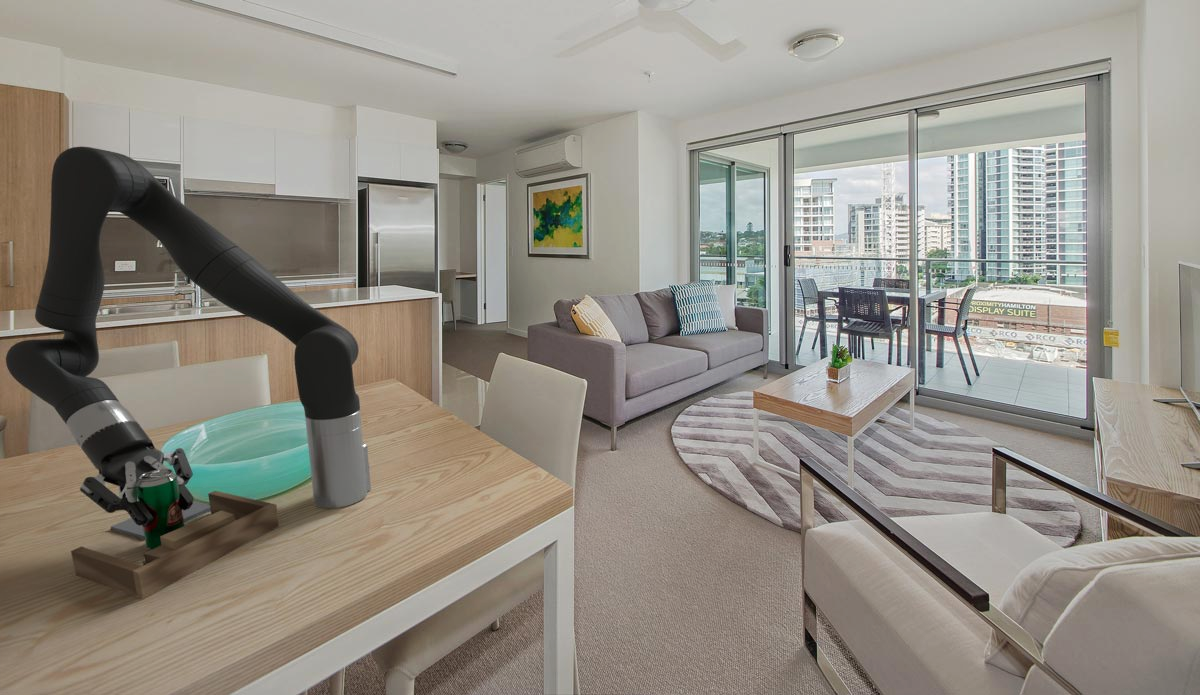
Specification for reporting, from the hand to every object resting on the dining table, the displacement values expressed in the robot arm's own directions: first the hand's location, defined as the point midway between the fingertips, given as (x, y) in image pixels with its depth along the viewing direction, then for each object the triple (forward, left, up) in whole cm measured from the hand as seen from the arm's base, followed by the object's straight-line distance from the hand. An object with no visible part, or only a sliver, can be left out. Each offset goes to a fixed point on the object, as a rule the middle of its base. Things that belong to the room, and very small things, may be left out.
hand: (169, 514), depth 83 cm
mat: (-5, -11, -5) cm, 13 cm away
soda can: (0, -2, -6) cm, 6 cm away
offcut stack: (0, +5, -5) cm, 7 cm away
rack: (0, +2, -5) cm, 6 cm away
